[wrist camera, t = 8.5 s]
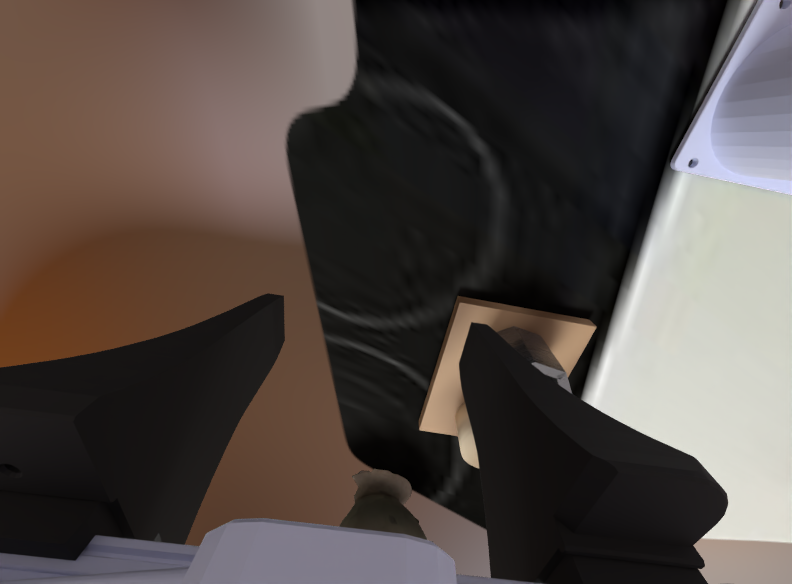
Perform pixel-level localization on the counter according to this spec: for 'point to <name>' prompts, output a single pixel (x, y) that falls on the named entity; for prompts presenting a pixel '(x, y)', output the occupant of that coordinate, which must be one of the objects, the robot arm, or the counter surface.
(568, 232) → the counter surface
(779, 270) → the counter surface
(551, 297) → the counter surface
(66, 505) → the robot arm
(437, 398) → the board
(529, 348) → the ring
